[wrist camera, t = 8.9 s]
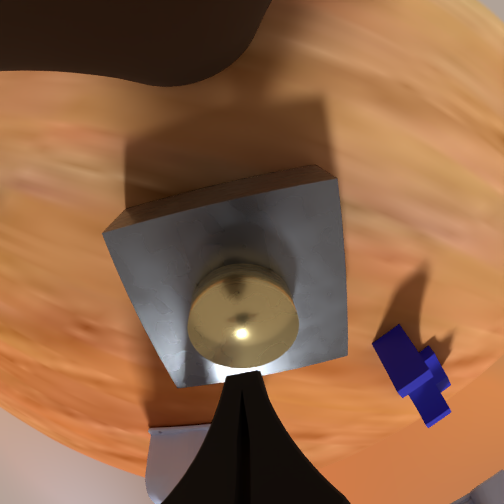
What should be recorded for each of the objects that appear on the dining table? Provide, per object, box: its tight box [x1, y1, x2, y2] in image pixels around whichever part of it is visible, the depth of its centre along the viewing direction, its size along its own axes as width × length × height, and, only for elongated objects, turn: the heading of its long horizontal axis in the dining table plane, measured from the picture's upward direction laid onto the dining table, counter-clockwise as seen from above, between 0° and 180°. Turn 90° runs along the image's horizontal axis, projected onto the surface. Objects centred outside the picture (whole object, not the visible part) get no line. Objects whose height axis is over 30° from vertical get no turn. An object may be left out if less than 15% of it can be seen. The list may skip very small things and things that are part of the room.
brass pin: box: [187, 263, 299, 369], centre depth 17 cm, size 6×6×6 cm
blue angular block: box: [372, 324, 451, 428], centre depth 24 cm, size 12×4×6 cm, turn 40°
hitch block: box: [102, 165, 348, 388], centre depth 18 cm, size 12×12×4 cm
